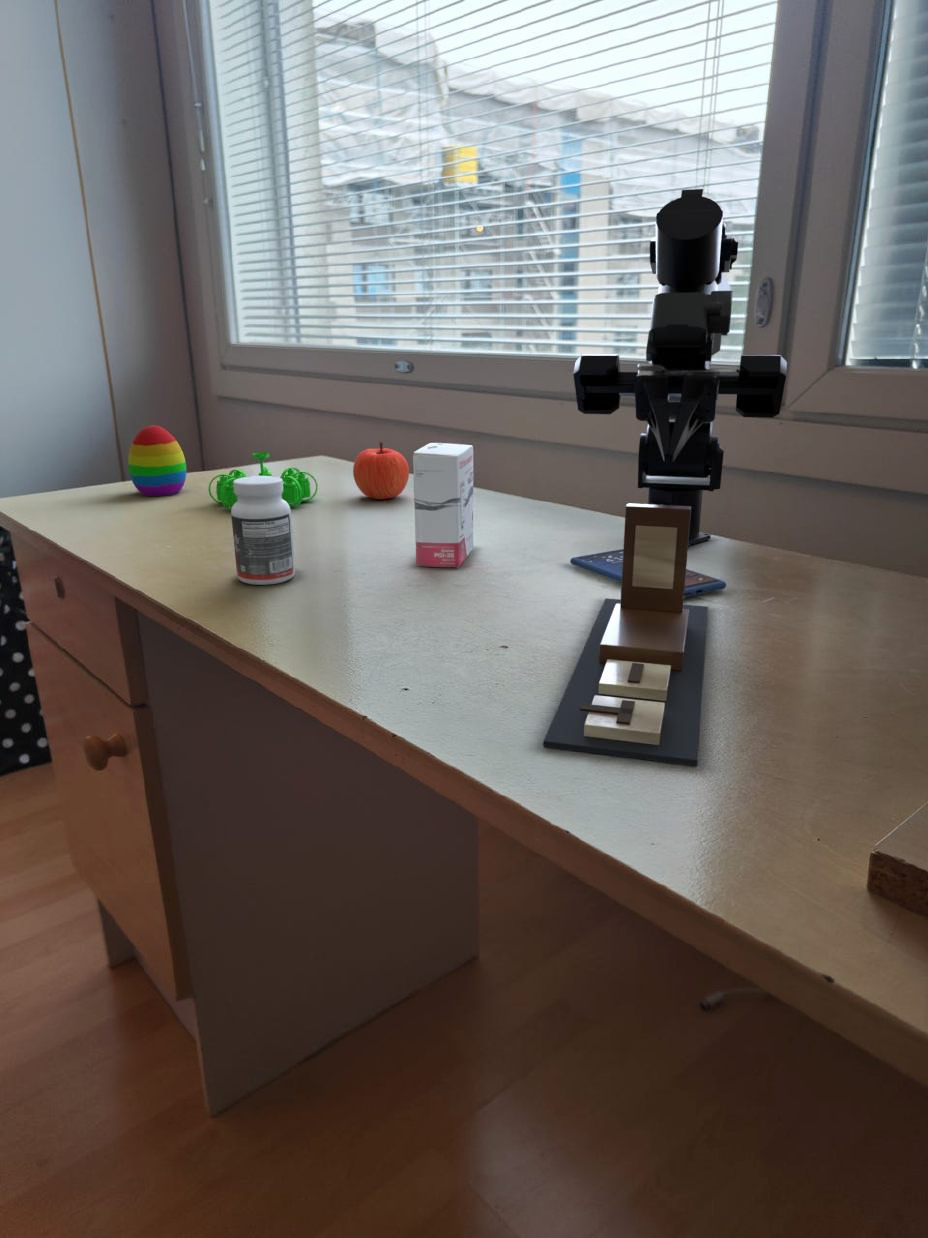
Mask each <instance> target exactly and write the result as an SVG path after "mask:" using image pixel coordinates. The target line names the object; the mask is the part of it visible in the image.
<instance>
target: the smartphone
mask: <svg viewBox="0 0 928 1238" xmlns="http://www.w3.org/2000/svg"><path fill="white" fill-rule="evenodd" d="M570 564H571V565H572V566H575V567H578V568H581V569H583V570H586V571H589V572H592V573H594V574H596V575H600V576H602V577H604V578H608V579H610V580H612V581H615V582H618V583H620V584H621V583H622V565H623V548H620V549H613V550H608V551H603V552H597V553H592V554H591V553H590V554H585V555H579V556H573V557H571V559H570ZM726 587H727V583H726V581H724V580H722V579H719V578H716V577H713V576H709V575H707V574H703V573H700V572H697V571H694V570H691V569H688V568H686V579H685V591H684V598H688V597H692V596H697V595H702V594H705V593H711V592H715V591H720V590H724V589H725V588H726Z"/></svg>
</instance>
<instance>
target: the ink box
mask: <svg viewBox="0 0 928 1238" xmlns="http://www.w3.org/2000/svg"><path fill="white" fill-rule="evenodd" d="M412 465H413V466H412V467H413V468H412V469H413V497H414V500H413V501H414V503H413V504H414V534H415V537H414V538H415V564H416V566H417V567H429V568H430V567H431V568H432V567H435V568H460V567H461V566H462V565H463V563H464V562H465V560H466V559H467V558H468V556H469V555H470V554H471V552H472V551H473V549H474V445H471V444H462V443H461V444H460V443H449V442H447V443H445V442H429V443H428V444H425V445H424V446H421V447H420V448H419V449H417V450H415V451H413V455H412Z"/></svg>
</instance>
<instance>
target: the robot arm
mask: <svg viewBox="0 0 928 1238" xmlns="http://www.w3.org/2000/svg"><path fill="white" fill-rule="evenodd" d="M723 218H724V211H723V209H722V207H721V206H720V204H719V203H718V202H716V201H714V200H713V199H711V198H708V197H706V196H704V188H690V189H681V193H680V197H677V198H675V199H673V200H671V201H669V202H667V203H666V204H665V205H664V206H662V208H660V210H659V211H658V212H657V213H656V216H655V236H654V237H653V238H652V239H650V241H649V265H650V268H651V272H652V275H656V280H657V282H658V284H659V286H658V290H657V293H656V294H655V295H654V296H653V298H652V307H651V318H650V329H649V330H648V334H647V342H646V348H645V361H646V362H648V363H639V364H637V371H621V363H620V354H581V355H580V356H579V357H578V358H577V360H575V364H574V368H573V373H572V374H573V383H574V389H575V390H574V391H575V397H576V405H577V411H579V412H580V413H581V414H583V415H612V414H613V413H615V412H616V411H618V410H619V409H620V405H621V397H634V404H635V418H636V420H638V421H640V422H646V423H647V428H646V433H640V436H639V442H638V443H639V444H638V457H637V458H638V461H637V463H638V464H637V467H638V468H637V489H644V488H645V489H648V494H647V495H648V497H647V503H646V504H651V505H672V506H691V517H690V529H689V542H688V546H691V545H694V544H698V543H700V542H704V541H707V540H710V539H711V537H712V534H710V533H706V532H702V531H701V532H700V526H701V513H702V503H703V493H704V491H708V492H714V490H715V491H716V490H721V486H722V484H721V483H722V475H723V463H724V453H725V449H724V448H723V447H722V445H721V442H720V441H719V435H713V429H714V427H713V426H714V421H715V419H716V410H717V401H718V400H719V395H736V401H735V411H736V412H737V413H738V414H739V415H740V416H742V417H743V418H762V419H763V418H765V419H766V418H767V419H769V418H771V419H772V418H775V417H776V416H778V415H780V414H781V413H780V412H781V407H782V402H783V395H784V390H785V385H786V379H787V368H788V367H787V365H788V362H787V360H785V358H784V357H783V356H782V355H781V354H741V355H740V360H739V361H740V362H739V369H736V368H726V369H725V368H711V367H712V357H713V356H714V355H715V354H717V353H719V352H720V351H721V346H722V337H727V336H728V334H729V333H730V330H731V318H732V307H733V295H734V290H732V287H731V285H730V284H729V282H728V280H727V279H726V277H725V276H724V274H723V273H730V272H731V271H730V270H732V269H733V265H734V263H735V262H737V260H738V251H739V241H736V240H735V237H733V234H727V224H726V223H725V222H723V220H724V219H723ZM708 477H709V478H708Z"/></svg>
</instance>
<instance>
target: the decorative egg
mask: <svg viewBox="0 0 928 1238" xmlns="http://www.w3.org/2000/svg"><path fill="white" fill-rule="evenodd" d="M127 467H128V474H129V477H130V479H131V482H132V484H133V486H134V487H135V488H136V490H137V491H138V492H139V493H140V494H141V495H143V496H147V497H163V496H173V495H175V494H179V492H181V490H182V489H183V487H184V485H185V483H186V480H187V471H188V470H187V463H186V458H185V455H184V452H183V449H182V448H181V446H180V444H179V442H178V441H177V439H176V438H175V437H174V436H173V435H172V434H171V433H170V432H169V431H168V430H166V428H164V427H162V426H160V425H156V424H155V425H153V424H152V425H151V424H150V425H148V426H145V427H143V428H142V429H141V430H139V432H138V433H137V434H136V436H135V437H134V439H133V441H132V442H131V445H130V448H129V451H128V459H127Z"/></svg>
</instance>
